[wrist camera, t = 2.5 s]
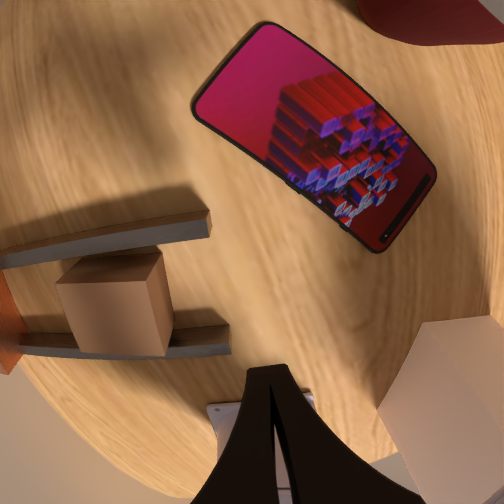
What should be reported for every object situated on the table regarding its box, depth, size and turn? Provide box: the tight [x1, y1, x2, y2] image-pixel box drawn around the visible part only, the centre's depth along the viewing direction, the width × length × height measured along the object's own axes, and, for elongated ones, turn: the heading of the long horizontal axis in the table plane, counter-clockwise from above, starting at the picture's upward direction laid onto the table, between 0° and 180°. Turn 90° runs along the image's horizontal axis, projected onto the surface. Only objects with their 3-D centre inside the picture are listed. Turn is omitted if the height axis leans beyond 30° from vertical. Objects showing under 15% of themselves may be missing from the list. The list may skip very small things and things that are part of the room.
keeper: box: [55, 253, 175, 356], centre depth 16 cm, size 6×5×4 cm
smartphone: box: [192, 22, 437, 254], centre depth 15 cm, size 8×1×15 cm
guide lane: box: [0, 210, 232, 375], centre depth 15 cm, size 20×9×5 cm, turn 96°
